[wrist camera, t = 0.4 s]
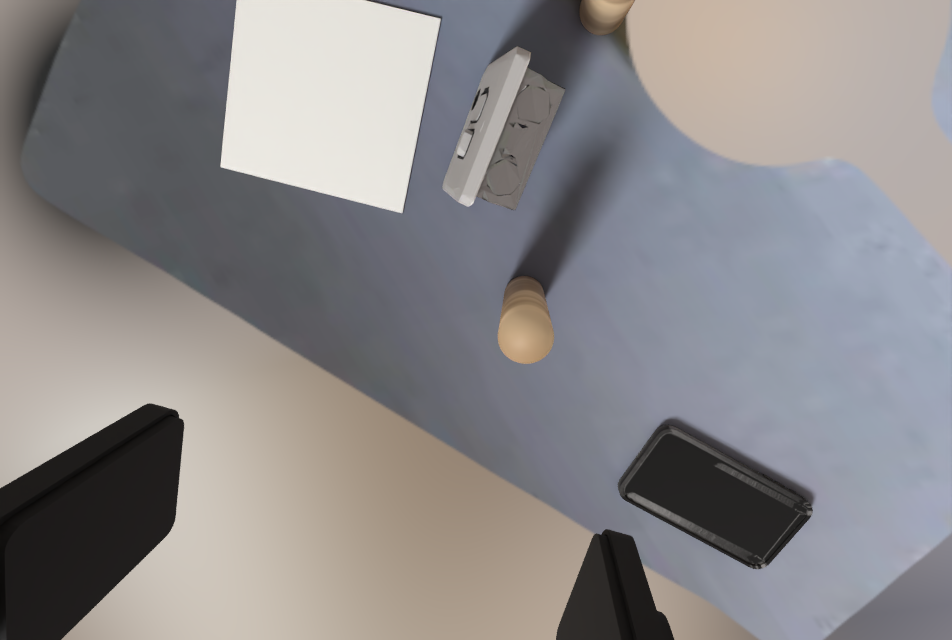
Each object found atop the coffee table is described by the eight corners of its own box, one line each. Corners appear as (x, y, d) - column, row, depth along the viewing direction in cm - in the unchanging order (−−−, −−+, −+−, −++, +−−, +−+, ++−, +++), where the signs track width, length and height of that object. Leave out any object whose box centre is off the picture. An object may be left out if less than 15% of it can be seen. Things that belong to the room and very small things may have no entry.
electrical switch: (487, 65, 36) (491, 30, 27) (551, 94, 36) (576, 69, 28) (441, 188, 38) (430, 193, 29) (502, 214, 39) (510, 226, 30)
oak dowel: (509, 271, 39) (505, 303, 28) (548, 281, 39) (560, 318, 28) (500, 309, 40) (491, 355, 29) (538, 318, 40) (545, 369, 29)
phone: (761, 573, 43) (614, 494, 43) (755, 564, 44) (611, 487, 44) (819, 507, 41) (666, 423, 41) (811, 499, 42) (662, 417, 42)
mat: (241, -30, 36) (239, -31, 35) (441, 19, 35) (440, 18, 35) (221, 167, 39) (220, 167, 39) (402, 213, 39) (402, 213, 39)
